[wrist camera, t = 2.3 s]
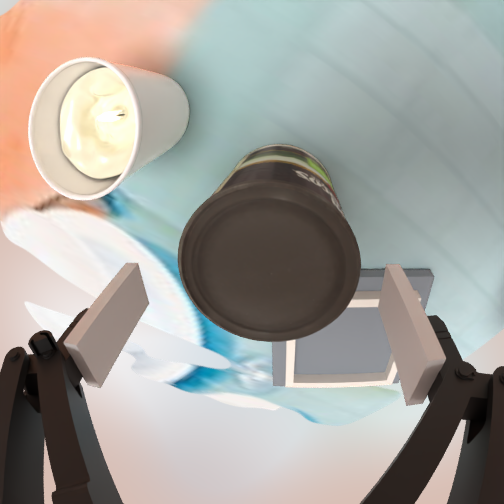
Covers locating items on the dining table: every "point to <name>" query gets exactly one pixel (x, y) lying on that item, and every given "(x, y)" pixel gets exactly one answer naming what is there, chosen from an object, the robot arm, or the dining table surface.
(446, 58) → the dining table surface
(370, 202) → the dining table surface
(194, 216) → the coffee can
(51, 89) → the candle holder
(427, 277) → the grey square tray
